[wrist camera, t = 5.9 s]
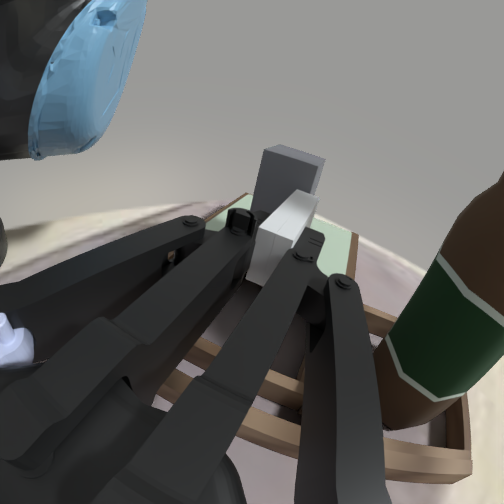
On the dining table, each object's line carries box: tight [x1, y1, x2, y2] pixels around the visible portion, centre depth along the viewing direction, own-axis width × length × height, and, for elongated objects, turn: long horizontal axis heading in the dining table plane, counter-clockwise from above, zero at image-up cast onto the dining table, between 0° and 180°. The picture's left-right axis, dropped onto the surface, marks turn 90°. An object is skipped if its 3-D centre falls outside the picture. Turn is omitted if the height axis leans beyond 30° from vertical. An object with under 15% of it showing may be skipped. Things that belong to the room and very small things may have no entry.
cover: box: [205, 145, 352, 277], centre depth 23 cm, size 13×13×9 cm
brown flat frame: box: [156, 193, 472, 484], centre depth 22 cm, size 27×26×3 cm
